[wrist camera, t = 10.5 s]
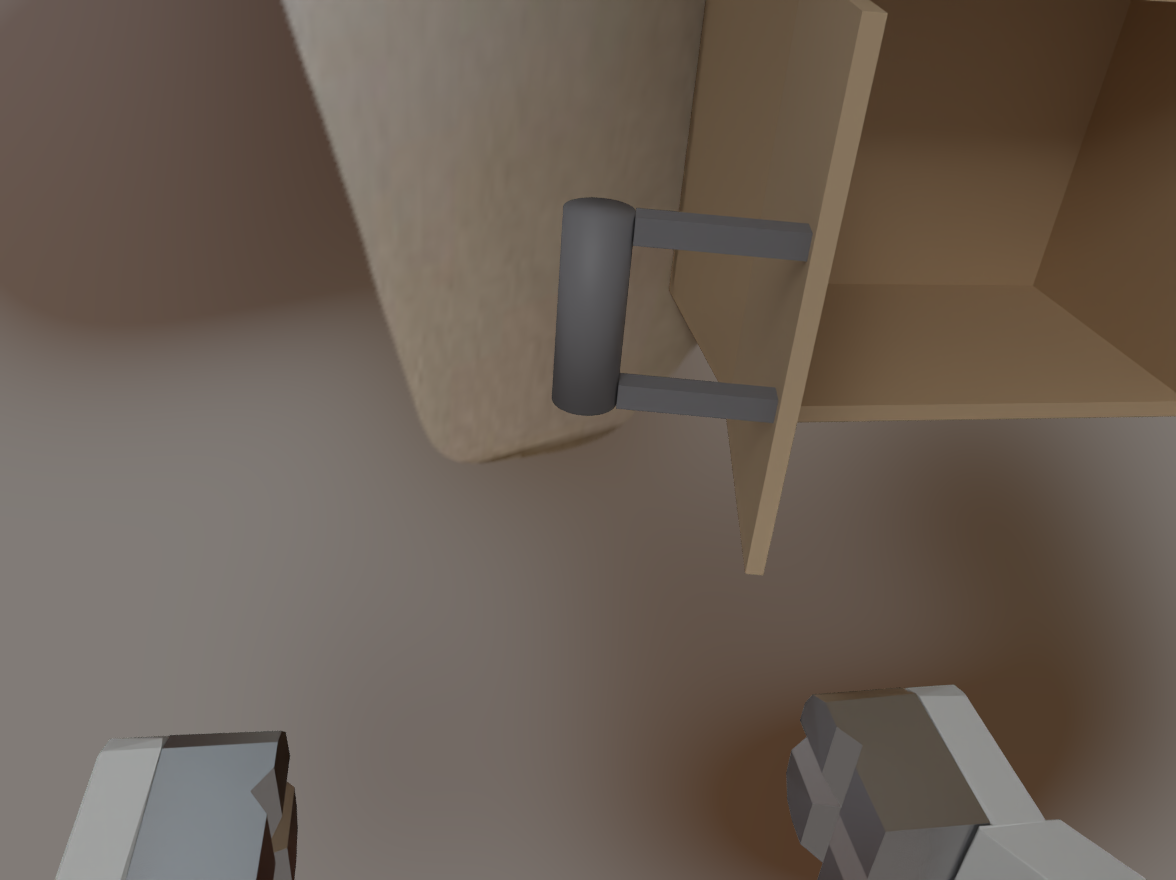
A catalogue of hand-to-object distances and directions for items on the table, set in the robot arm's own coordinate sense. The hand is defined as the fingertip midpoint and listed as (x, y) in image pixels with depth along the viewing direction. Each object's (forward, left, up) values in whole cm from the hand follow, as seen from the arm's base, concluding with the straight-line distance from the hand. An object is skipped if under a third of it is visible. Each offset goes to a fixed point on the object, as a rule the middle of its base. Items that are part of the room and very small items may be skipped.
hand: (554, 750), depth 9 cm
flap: (+4, +11, -22) cm, 24 cm away
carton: (+4, +23, -41) cm, 47 cm away
